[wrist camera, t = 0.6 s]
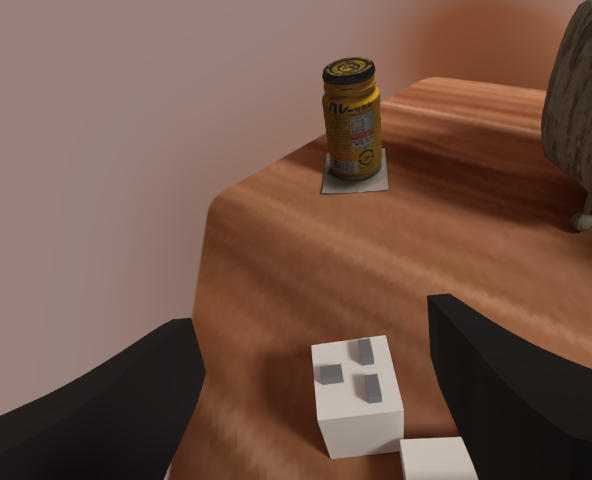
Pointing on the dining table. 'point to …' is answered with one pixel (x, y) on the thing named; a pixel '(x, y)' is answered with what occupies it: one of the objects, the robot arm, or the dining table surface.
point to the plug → (357, 397)
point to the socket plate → (436, 459)
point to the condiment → (353, 128)
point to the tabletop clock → (572, 109)
